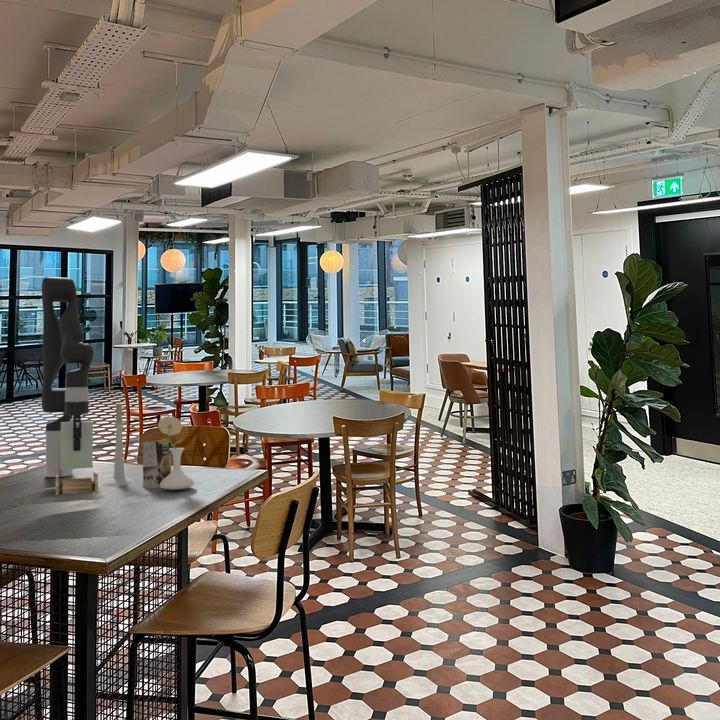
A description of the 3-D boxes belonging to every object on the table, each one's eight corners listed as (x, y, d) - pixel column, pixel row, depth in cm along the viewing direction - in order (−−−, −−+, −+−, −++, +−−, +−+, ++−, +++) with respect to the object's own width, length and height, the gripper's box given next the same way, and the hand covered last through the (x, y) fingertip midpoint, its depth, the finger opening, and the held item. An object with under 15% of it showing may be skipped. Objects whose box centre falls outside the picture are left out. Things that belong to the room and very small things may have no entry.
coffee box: (159, 488, 216) (159, 441, 217) (142, 488, 217) (142, 441, 218) (172, 484, 225) (172, 439, 226) (156, 484, 226) (155, 439, 227)
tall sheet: (60, 468, 215) (60, 422, 216) (92, 466, 220) (92, 421, 220) (60, 469, 213) (60, 422, 213) (92, 467, 217) (92, 421, 218)
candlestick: (145, 484, 227) (144, 401, 229) (112, 489, 217) (112, 402, 219) (124, 482, 235) (124, 402, 236) (92, 486, 224) (92, 402, 226)
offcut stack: (62, 492, 211) (62, 479, 211) (91, 490, 215) (91, 477, 215) (62, 494, 208) (62, 480, 208) (91, 492, 212) (91, 478, 212)
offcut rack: (55, 490, 215) (55, 473, 215) (95, 487, 221) (95, 470, 221) (55, 494, 206) (55, 476, 206) (97, 491, 211) (97, 473, 212)
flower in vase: (200, 487, 216) (200, 414, 218) (182, 492, 205) (182, 415, 207) (167, 486, 220) (167, 415, 221) (148, 491, 209) (147, 416, 210)
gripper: (64, 400, 222) (64, 449, 221) (65, 400, 209) (65, 452, 208) (87, 400, 225) (87, 448, 224) (89, 400, 213) (89, 451, 212)
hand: (76, 450), depth 216 cm, fingers closed on tall sheet, 3 cm apart
